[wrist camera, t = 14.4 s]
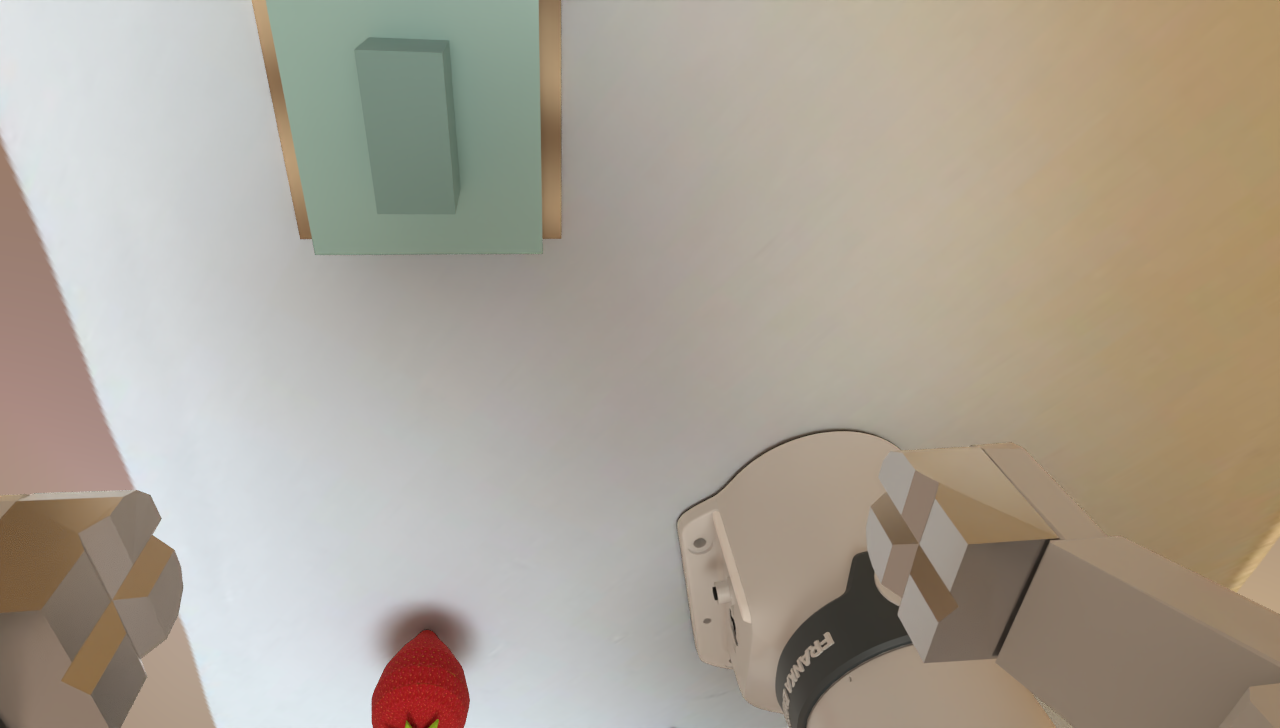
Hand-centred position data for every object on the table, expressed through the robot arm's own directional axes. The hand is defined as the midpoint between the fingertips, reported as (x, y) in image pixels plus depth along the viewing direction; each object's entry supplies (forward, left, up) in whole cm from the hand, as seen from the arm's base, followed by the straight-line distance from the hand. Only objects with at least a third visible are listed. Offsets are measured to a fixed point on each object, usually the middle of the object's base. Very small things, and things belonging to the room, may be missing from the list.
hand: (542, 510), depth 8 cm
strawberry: (-37, +7, -28) cm, 46 cm away
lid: (-2, +4, -26) cm, 26 cm away
